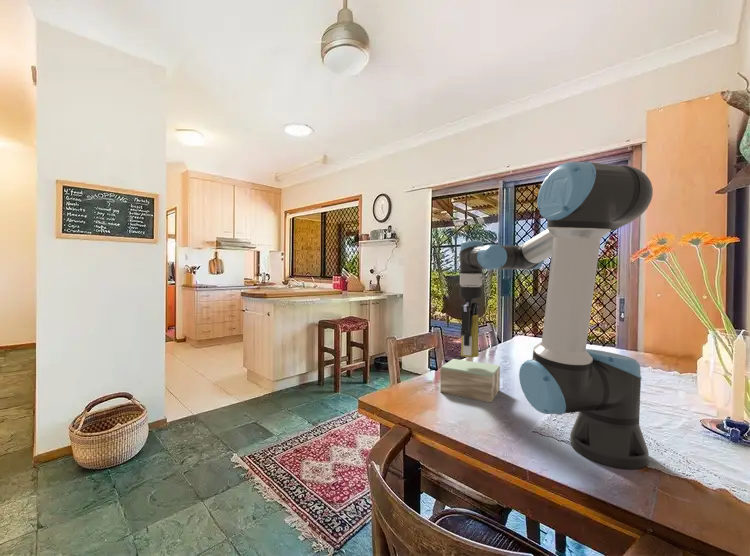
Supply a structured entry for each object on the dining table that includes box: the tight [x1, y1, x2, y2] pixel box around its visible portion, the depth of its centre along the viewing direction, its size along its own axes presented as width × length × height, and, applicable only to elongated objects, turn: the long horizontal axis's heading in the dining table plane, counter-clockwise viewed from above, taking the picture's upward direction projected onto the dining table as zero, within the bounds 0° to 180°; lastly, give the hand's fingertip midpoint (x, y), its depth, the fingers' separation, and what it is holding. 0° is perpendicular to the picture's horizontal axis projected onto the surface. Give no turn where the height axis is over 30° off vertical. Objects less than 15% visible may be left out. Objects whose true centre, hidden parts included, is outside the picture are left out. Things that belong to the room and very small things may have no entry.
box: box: [439, 367, 501, 403], centre depth 119 cm, size 13×17×8 cm
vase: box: [460, 314, 480, 358], centre depth 118 cm, size 6×6×14 cm
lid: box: [440, 358, 501, 377], centre depth 119 cm, size 12×17×1 cm
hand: (469, 352), depth 118 cm, fingers closed on vase, 6 cm apart
